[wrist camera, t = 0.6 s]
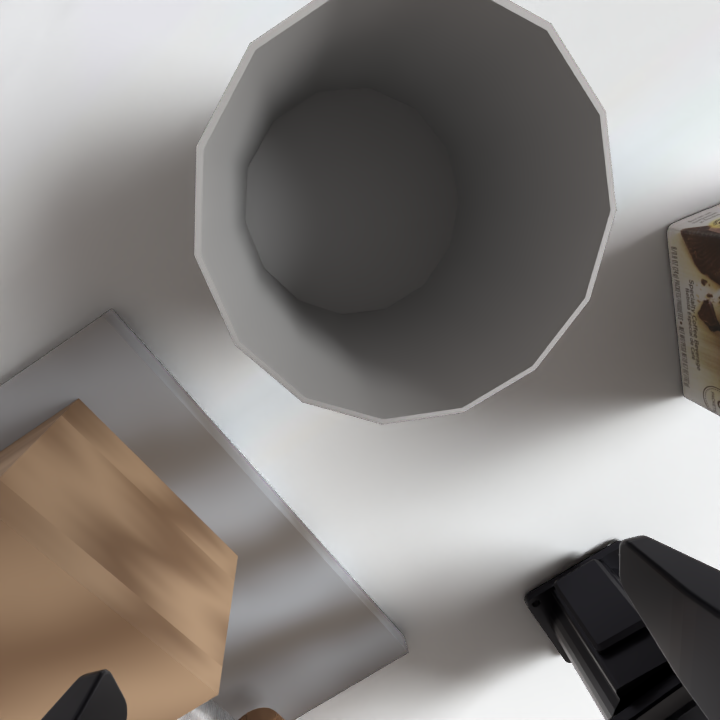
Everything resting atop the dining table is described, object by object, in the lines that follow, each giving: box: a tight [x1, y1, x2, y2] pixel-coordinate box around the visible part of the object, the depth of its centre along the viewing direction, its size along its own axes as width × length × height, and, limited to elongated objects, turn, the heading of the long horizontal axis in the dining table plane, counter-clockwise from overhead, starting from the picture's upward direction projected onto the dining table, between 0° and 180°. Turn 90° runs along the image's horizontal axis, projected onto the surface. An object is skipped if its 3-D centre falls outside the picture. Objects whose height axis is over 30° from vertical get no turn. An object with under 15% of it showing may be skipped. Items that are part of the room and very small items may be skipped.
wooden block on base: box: [0, 309, 409, 720], centre depth 20 cm, size 23×16×8 cm
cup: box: [194, 0, 616, 424], centre depth 14 cm, size 8×8×10 cm
